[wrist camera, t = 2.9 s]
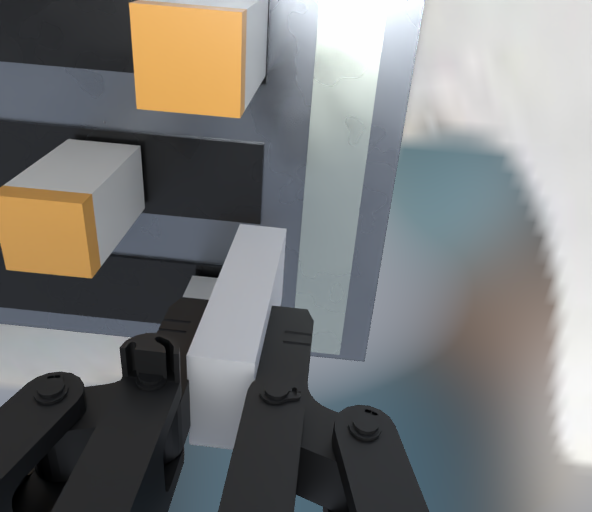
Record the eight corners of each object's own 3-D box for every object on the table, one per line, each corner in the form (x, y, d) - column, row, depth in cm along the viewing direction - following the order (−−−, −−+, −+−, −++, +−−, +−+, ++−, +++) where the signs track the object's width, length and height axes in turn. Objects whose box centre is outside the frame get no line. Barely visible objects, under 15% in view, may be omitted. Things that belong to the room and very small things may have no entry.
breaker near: (186, 68, 21) (136, 108, 16) (184, -14, 20) (128, 2, 15) (265, 75, 21) (240, 118, 16) (268, -6, 20) (241, 12, 15)
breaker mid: (76, 201, 24) (6, 269, 19) (68, 138, 23) (-11, 194, 18) (144, 208, 24) (92, 278, 19) (140, 145, 23) (82, 204, 18)
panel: (-78, 293, 30) (-105, 316, 29) (-201, -97, 21) (-252, -100, 20) (363, 339, 30) (364, 365, 28) (426, -47, 21) (433, -46, 19)
